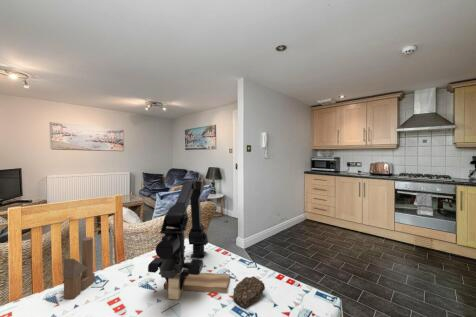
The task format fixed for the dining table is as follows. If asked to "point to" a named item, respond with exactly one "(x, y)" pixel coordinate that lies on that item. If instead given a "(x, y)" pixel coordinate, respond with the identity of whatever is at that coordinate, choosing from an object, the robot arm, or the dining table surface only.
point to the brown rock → (248, 291)
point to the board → (206, 283)
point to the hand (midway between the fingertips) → (176, 289)
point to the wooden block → (79, 271)
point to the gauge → (174, 287)
